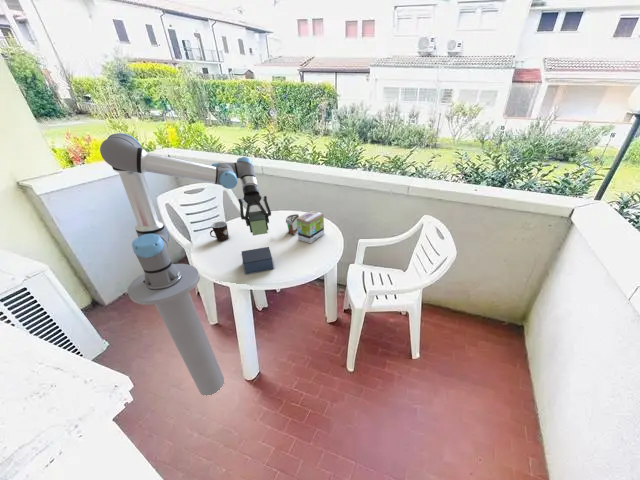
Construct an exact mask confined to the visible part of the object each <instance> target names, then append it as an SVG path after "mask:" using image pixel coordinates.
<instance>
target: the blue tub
mask: <svg viewBox="0 0 640 480" xmlns="http://www.w3.org/2000/svg"><path fill="white" fill-rule="evenodd" d="M240 252H241V259H242V265H243V268H244V272H245V274H246V275H249V274H255V273H259V272H265V271H269V270H274V264H273V263H274V262H273V256H272V253H271V249H270V247H269V246H264V247H259V248H254V249H248V250H242V251H240Z"/></svg>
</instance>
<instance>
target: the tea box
mask: <svg viewBox="0 0 640 480" xmlns="http://www.w3.org/2000/svg"><path fill="white" fill-rule="evenodd" d="M324 217H325V216H324V213H322V212H319V211H315V210H310V211H307V212H306V213H304V214H302V215H300V216H299V217H298V218H297V230H298V231H297V240H299V241H301V242H304V243H308V244H311V243H313V242H314V241H316V240H317V239H319V238H321V237H322V236H324V235H325V222H324V219H325V218H324Z"/></svg>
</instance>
